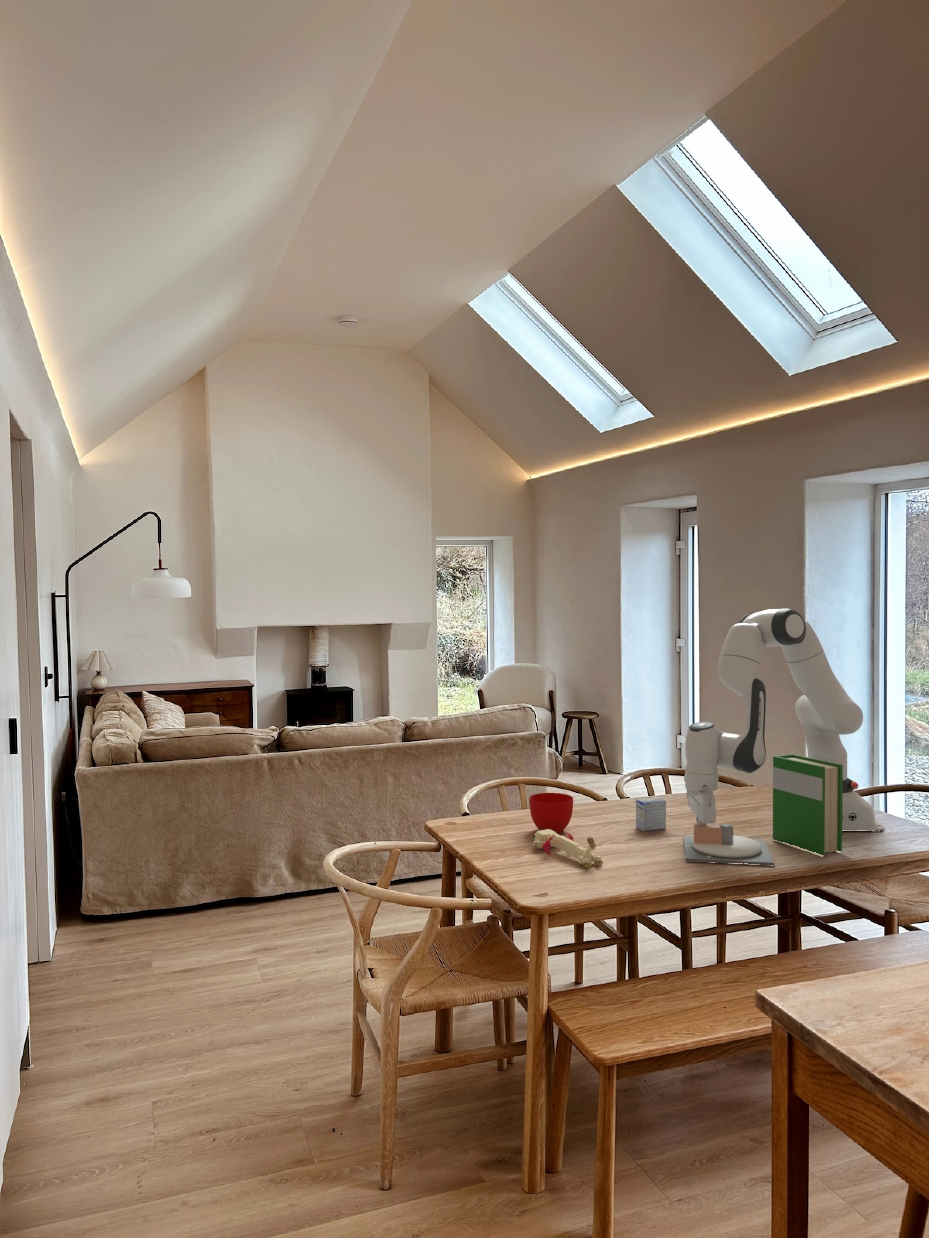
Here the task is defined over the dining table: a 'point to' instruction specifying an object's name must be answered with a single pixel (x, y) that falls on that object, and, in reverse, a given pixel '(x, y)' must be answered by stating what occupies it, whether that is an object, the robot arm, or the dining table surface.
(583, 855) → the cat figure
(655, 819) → the medicine box
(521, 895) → the dining table surface
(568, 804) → the ceramic cup
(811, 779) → the hardback book
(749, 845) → the dial
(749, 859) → the dial base plate
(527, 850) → the dining table surface
